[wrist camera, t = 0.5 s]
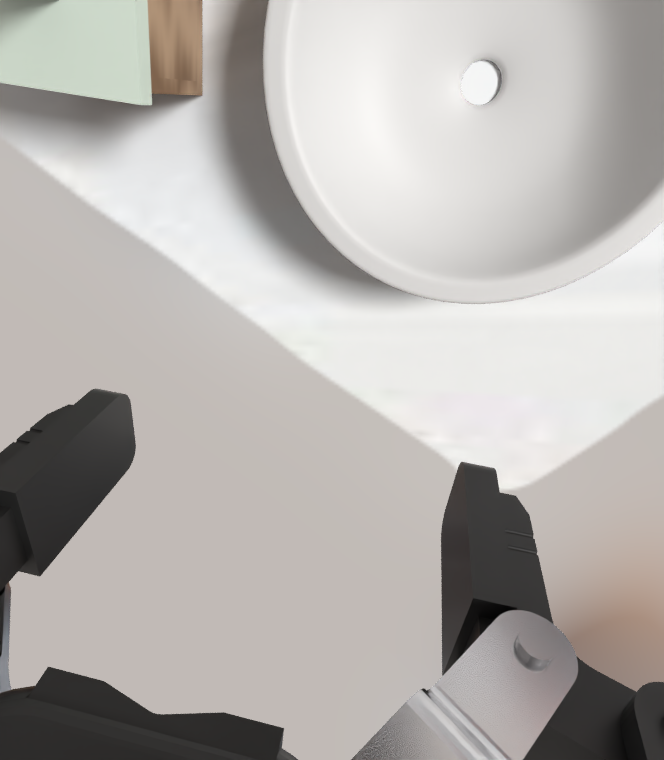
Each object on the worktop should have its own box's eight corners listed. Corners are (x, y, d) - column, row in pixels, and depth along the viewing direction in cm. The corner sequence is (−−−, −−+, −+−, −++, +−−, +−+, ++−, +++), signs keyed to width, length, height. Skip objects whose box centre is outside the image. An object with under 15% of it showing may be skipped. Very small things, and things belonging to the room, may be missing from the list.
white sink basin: (496, 334, 38) (507, 375, 33) (229, 142, 35) (190, 149, 29) (812, 5, 27) (916, -22, 21) (456, -331, 23) (462, -472, 18)
